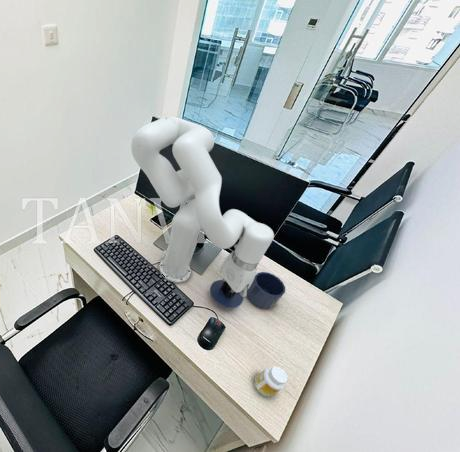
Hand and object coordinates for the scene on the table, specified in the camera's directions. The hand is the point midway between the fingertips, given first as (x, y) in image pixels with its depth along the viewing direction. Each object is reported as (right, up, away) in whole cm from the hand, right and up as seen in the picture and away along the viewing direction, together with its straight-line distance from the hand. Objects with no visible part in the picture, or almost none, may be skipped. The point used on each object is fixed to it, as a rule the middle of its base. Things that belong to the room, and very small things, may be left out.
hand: (226, 292), depth 90 cm
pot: (+15, -3, +6) cm, 16 cm away
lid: (0, -1, +1) cm, 1 cm away
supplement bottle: (+4, -23, -16) cm, 29 cm away
